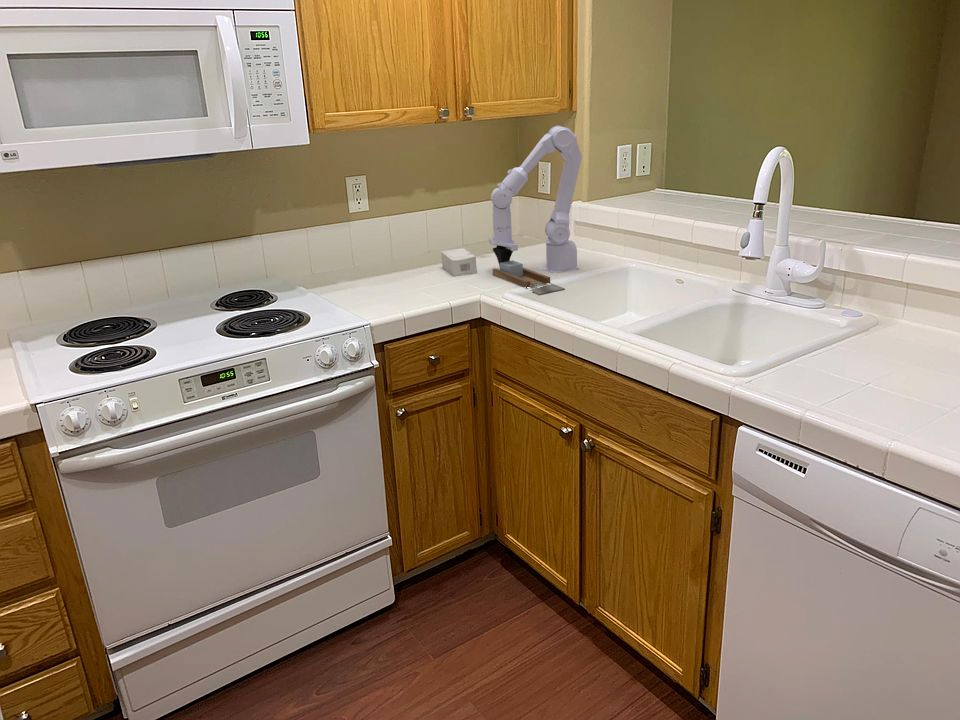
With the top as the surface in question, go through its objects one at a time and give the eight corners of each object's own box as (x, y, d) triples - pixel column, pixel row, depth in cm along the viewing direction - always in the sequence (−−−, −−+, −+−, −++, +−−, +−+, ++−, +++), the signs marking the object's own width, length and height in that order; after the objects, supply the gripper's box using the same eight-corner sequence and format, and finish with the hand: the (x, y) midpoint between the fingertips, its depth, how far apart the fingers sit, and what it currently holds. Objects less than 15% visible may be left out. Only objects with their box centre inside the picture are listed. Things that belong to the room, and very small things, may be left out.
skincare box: (452, 260, 230) (439, 250, 243) (454, 278, 232) (441, 267, 245) (477, 256, 232) (463, 246, 245) (478, 274, 235) (464, 263, 248)
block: (513, 272, 233) (512, 260, 231) (523, 276, 228) (522, 263, 226) (500, 275, 230) (499, 262, 229) (510, 278, 225) (509, 266, 224)
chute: (516, 271, 235) (515, 264, 234) (564, 289, 213) (564, 281, 212) (492, 276, 231) (491, 269, 230) (539, 295, 209) (538, 287, 208)
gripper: (479, 225, 231) (482, 267, 236) (503, 232, 220) (505, 276, 225) (498, 222, 235) (500, 263, 240) (523, 229, 223) (524, 272, 228)
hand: (504, 269), depth 232 cm, fingers closed
